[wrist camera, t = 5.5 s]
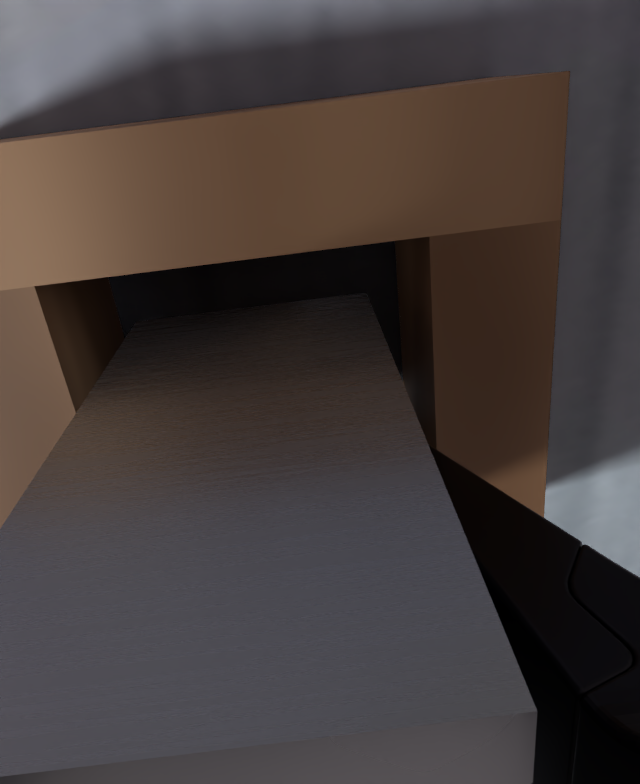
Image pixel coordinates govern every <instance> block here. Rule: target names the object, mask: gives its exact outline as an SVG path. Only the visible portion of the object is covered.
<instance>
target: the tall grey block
mask: <svg viewBox="0 0 640 784" xmlns="http://www.w3.org/2000/svg"><path fill="white" fill-rule="evenodd" d="M536 725H537V709H536V707H535V704H534V702H533V699H532V697H531V694H530V692H529V690H528V687H527V685H526V682H525V680H524V677H523V675H522V672H521V670H520V668H519V665H518V663H517V660H516V658H515V655H514V653H513V650H512V648H511V646H510V643H509V641H508V638H507V636H506V633H505V631H504V628H503V626H502V624H501V621H500V619H499V616H498V614H497V611H496V609H495V606H494V604H493V601H492V599H491V597H490V594H489V592H488V589H487V587H486V584H485V582H484V579H483V577H482V575H481V572H480V570H479V567H478V565H477V562H476V560H475V557H474V555H473V553H472V550H471V548H470V545H469V543H468V540H467V538H466V535H465V533H464V531H463V528H462V526H461V523H460V521H459V518H458V516H457V513H456V511H455V509H454V506H453V504H452V501H451V499H450V496H449V494H448V491H447V489H446V487H445V484H444V482H443V479H442V477H441V474H440V472H439V469H438V467H437V465H436V462H435V460H434V457H433V455H432V452H431V450H430V447H429V445H428V443H427V440H426V438H425V435H424V433H423V430H422V428H421V425H420V423H419V421H418V418H417V416H416V413H415V411H414V408H413V406H412V403H411V401H410V399H409V396H408V394H407V391H406V389H405V386H404V384H403V381H402V379H401V377H400V374H399V372H398V369H397V367H396V364H395V362H394V359H393V357H392V354H391V352H390V350H389V347H388V345H387V342H386V340H385V337H384V335H383V332H382V330H381V328H380V325H379V323H378V320H377V318H376V315H375V313H374V310H373V308H372V306H371V303H370V301H369V298H368V296H367V293H360V294H352V295H344V296H336V297H328V298H320V299H312V300H304V301H296V302H288V303H280V304H272V305H263V306H255V307H247V308H239V309H231V310H223V311H215V312H207V313H199V314H191V315H183V316H175V317H167V318H159V319H151V320H143V321H136V323H135V324H134V326H133V327H132V329H131V330H130V332H129V333H128V335H127V336H126V338H125V339H124V341H123V342H122V344H121V345H120V347H119V348H118V350H117V351H116V353H115V355H114V356H113V358H112V359H111V361H110V362H109V364H108V365H107V367H106V368H105V370H104V371H103V373H102V374H101V376H100V377H99V379H98V380H97V382H96V383H95V385H94V387H93V388H92V390H91V391H90V393H89V394H88V396H87V397H86V399H85V400H84V402H83V403H82V405H81V406H80V408H79V409H78V411H77V412H76V414H75V415H74V417H73V419H72V420H71V422H70V423H69V425H68V426H67V428H66V429H65V431H64V432H63V434H62V435H61V437H60V438H59V440H58V441H57V443H56V444H55V446H54V447H53V449H52V450H51V452H50V454H49V455H48V457H47V458H46V460H45V461H44V463H43V464H42V466H41V467H40V469H39V470H38V472H37V473H36V475H35V476H34V478H33V479H32V481H31V482H30V484H29V486H28V487H27V489H26V490H25V492H24V493H23V495H22V496H21V498H20V499H19V501H18V502H17V504H16V505H15V507H14V508H13V510H12V511H11V513H10V514H9V516H8V518H7V519H6V521H5V522H4V524H3V525H2V527H1V528H0V784H533V771H534V756H535V740H536Z"/></svg>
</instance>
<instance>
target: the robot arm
mask: <svg viewBox="0 0 640 784" xmlns="http://www.w3.org/2000/svg"><path fill="white" fill-rule="evenodd" d="M428 445H429V444H428ZM429 447H430V450H431V452H432V455H433V457H434V460H435V462H436V465H437V467H438V469H439V472H440V474H441V477H442V479H443V482H444V484H445V487H446V489H447V491H448V494H449V496H450V499H451V501H452V504H453V506H454V509H455V511H456V513H457V516H458V518H459V521H460V523H461V526H462V528H463V531H464V533H465V535H466V538H467V540H468V543H469V545H470V548H471V550H472V553H473V555H474V557H475V560H476V562H477V565H478V567H479V570H480V572H481V575H482V577H483V579H484V582H485V584H486V587H487V589H488V592H489V594H490V597H491V599H492V601H493V604H494V606H495V609H496V611H497V614H498V616H499V619H500V621H501V624H502V626H503V628H504V631H505V633H506V636H507V638H508V641H509V643H510V646H511V648H512V650H513V653H514V655H515V658H516V660H517V663H518V665H519V668H520V670H521V672H522V675H523V677H524V680H525V682H526V685H527V687H528V690H529V692H530V694H531V697H532V699H533V702H534V704H535V707H536V709H537V725H536V740H535V756H534V771H533V784H640V577H638V576H636V575H635V574H633V573H631V572H630V571H628V570H626V569H625V568H623V567H621V566H620V565H618V564H616V563H615V562H613V561H611V560H610V559H608V558H607V557H605V556H603V555H602V554H600V553H599V552H597V551H596V550H594V549H592V548H591V547H589V546H588V545H582V542H581V541H579V540H578V539H576V538H575V537H573V536H572V535H570V534H568V533H567V532H565V531H564V530H562V529H561V528H559V527H557V526H556V525H554V524H553V523H551V522H550V521H548V520H546V519H545V518H543V517H542V516H540V515H539V514H537V513H536V512H534V511H532V510H531V509H529V508H528V507H526V506H525V505H523V504H521V503H520V502H518V501H517V500H515V499H514V498H512V497H510V496H509V495H507V494H506V493H504V492H503V491H501V490H499V489H498V488H496V487H495V486H493V485H492V484H490V483H488V482H487V481H485V480H484V479H482V478H481V477H479V476H477V475H476V474H474V473H473V472H471V471H470V470H468V469H466V468H465V467H463V466H462V465H460V464H459V463H457V462H455V461H454V460H452V459H451V458H449V457H448V456H446V455H444V454H443V453H441V452H440V451H438V450H437V449H435V448H434V447H432V446H430V445H429Z"/></svg>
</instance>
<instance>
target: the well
mask: <svg viewBox="0 0 640 784" xmlns="http://www.w3.org/2000/svg"><path fill="white" fill-rule="evenodd" d="M569 80H570V71H564V72H551V73H539V74H526V75H514V76H501V77H490V78H482V79H474V80H466V81H458V82H450V83H442V84H435V85H427V86H419V87H411V88H403V89H395V90H387V91H379V92H371V93H363V94H355V95H348V96H340V97H332V98H324V99H316V100H308V101H300V102H292V103H284V104H276V105H268V106H261V107H253V108H245V109H237V110H229V111H221V112H213V113H205V114H197V115H189V116H181V117H173V118H166V119H158V120H150V121H142V122H134V123H126V124H118V125H110V126H102V127H94V128H86V129H79V130H71V131H63V132H55V133H47V134H39V135H31V136H23V137H15V138H7V139H0V528H1V527H2V525H3V524H4V522H5V521H6V519H7V518H8V516H9V514H10V513H11V511H12V510H13V508H14V507H15V505H16V504H17V502H18V501H19V499H20V498H21V496H22V495H23V493H24V492H25V490H26V489H27V487H28V486H29V484H30V482H31V481H32V479H33V478H34V476H35V475H36V473H37V472H38V470H39V469H40V467H41V466H42V464H43V463H44V461H45V460H46V458H47V457H48V455H49V454H50V452H51V450H52V449H53V447H54V446H55V444H56V443H57V441H58V440H59V438H60V437H61V435H62V434H63V432H64V431H65V429H66V428H67V426H68V425H69V423H70V422H71V420H72V419H73V417H74V415H75V414H76V412H77V411H78V409H79V408H80V406H81V405H82V403H83V402H84V400H85V399H86V397H87V396H88V394H89V393H90V391H91V390H92V388H93V387H94V385H95V383H96V382H97V380H98V379H99V377H100V376H101V374H102V373H103V371H104V370H105V368H106V367H107V365H108V364H109V362H110V361H111V359H112V358H113V356H114V355H115V353H116V351H117V350H118V348H119V347H120V345H121V344H122V342H123V341H124V339H125V337H124V333H123V330H122V326H121V322H120V319H119V315H118V311H117V308H116V304H115V300H114V297H113V293H112V289H111V286H110V282H109V278H108V277H112V276H120V275H128V274H136V273H144V272H152V271H160V270H168V269H176V268H184V267H192V266H199V265H207V264H215V263H223V262H231V261H239V260H247V259H255V258H263V257H271V256H279V255H287V254H295V253H303V252H311V251H318V250H326V249H334V248H342V247H350V246H358V245H366V244H374V243H382V242H390V241H395V253H396V270H397V287H398V303H399V320H400V337H401V354H402V371H403V384H404V386H405V389H406V391H407V394H408V396H409V399H410V401H411V403H412V406H413V408H414V411H415V413H416V416H417V418H418V421H419V423H420V425H421V428H422V430H423V433H424V435H425V438H426V440H427V443H428V444H429V445H430V446H432V447H434V448H435V449H437V450H438V451H440V452H441V453H443V454H444V455H446V456H448V457H449V458H451V459H452V460H454V461H455V462H457V463H459V464H460V465H462V466H463V467H465V468H466V469H468V470H470V471H471V472H473V473H474V474H476V475H477V476H479V477H481V478H482V479H484V480H485V481H487V482H488V483H490V484H492V485H493V486H495V487H496V488H498V489H499V490H501V491H503V492H504V493H506V494H507V495H509V496H510V497H512V498H514V499H515V500H517V501H518V502H520V503H521V504H523V505H525V506H526V507H528V508H529V509H531V510H532V511H534V512H536V513H537V514H539V515H540V516H542V517H543V518H544V505H545V488H546V471H547V454H548V437H549V420H550V403H551V386H552V369H553V352H554V335H555V318H556V301H557V284H558V267H559V250H560V233H561V216H562V199H563V182H564V165H565V148H566V131H567V114H568V97H569Z"/></svg>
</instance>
